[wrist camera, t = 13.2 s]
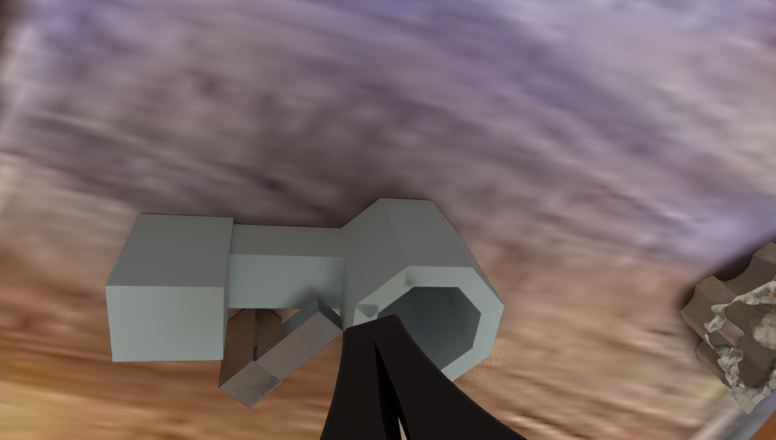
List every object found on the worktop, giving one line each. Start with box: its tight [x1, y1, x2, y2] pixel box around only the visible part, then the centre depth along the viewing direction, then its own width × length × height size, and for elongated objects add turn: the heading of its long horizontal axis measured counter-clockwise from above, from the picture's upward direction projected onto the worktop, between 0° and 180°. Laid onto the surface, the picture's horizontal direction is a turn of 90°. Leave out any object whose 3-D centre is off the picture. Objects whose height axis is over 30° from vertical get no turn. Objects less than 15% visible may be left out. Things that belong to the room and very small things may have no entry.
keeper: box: [218, 297, 344, 408], centre depth 22 cm, size 2×5×4 cm, turn 128°
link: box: [105, 198, 505, 382], centre depth 21 cm, size 13×5×5 cm, turn 82°
